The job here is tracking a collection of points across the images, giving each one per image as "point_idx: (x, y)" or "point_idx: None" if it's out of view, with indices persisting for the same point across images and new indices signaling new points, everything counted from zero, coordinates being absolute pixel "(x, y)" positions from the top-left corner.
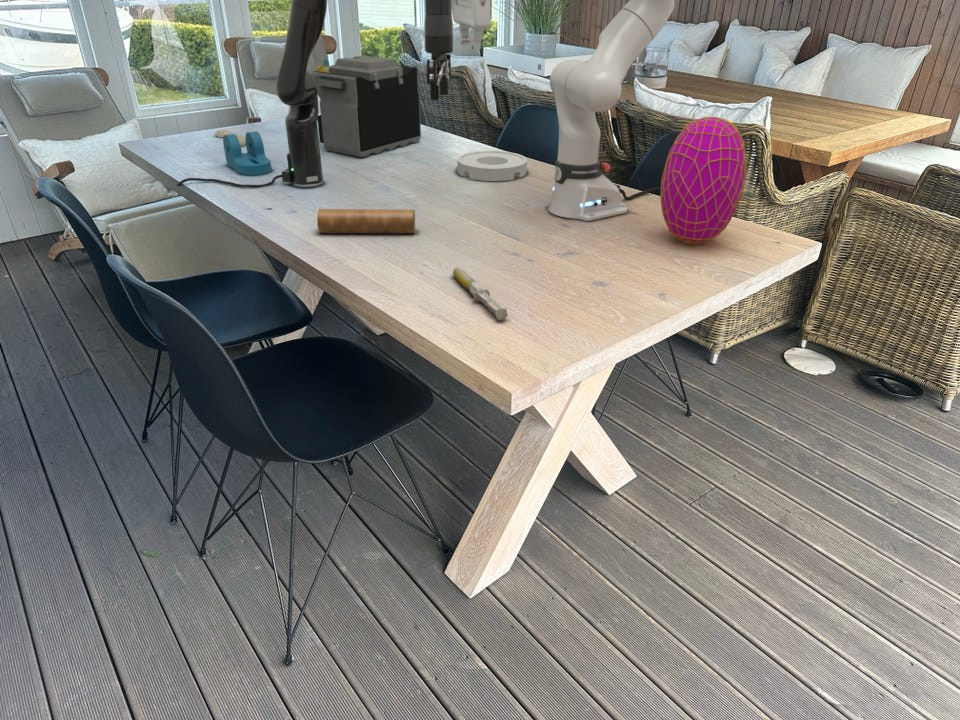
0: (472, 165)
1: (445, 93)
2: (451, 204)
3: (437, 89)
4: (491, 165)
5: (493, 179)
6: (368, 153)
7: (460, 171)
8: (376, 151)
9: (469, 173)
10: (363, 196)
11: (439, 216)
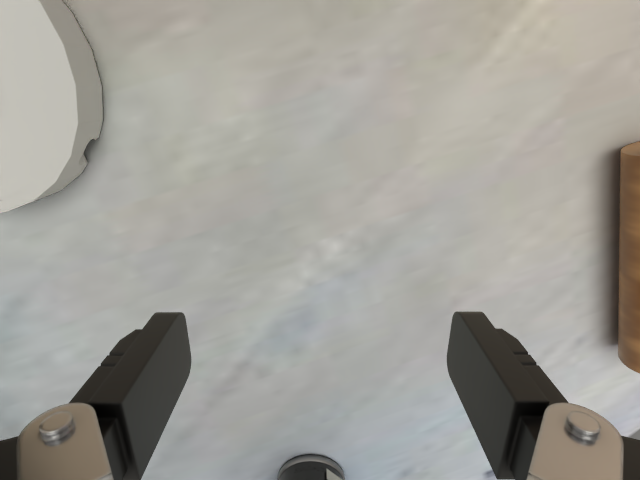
0: (47, 137)
1: (180, 332)
2: (377, 115)
3: (523, 379)
4: (7, 62)
5: (84, 40)
6: None
7: (70, 179)
8: None
9: (89, 138)
10: (365, 352)
11: (493, 117)
